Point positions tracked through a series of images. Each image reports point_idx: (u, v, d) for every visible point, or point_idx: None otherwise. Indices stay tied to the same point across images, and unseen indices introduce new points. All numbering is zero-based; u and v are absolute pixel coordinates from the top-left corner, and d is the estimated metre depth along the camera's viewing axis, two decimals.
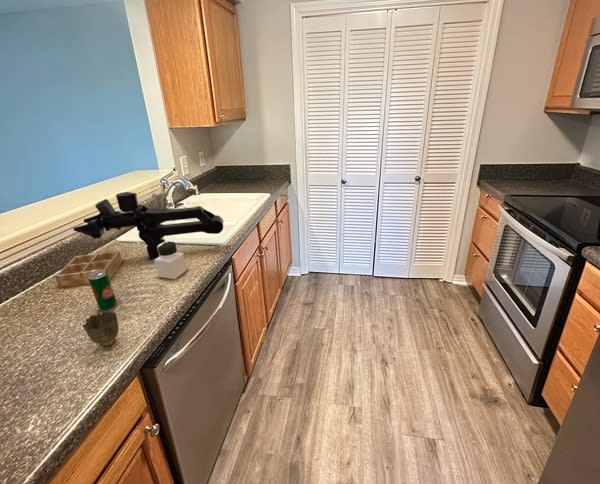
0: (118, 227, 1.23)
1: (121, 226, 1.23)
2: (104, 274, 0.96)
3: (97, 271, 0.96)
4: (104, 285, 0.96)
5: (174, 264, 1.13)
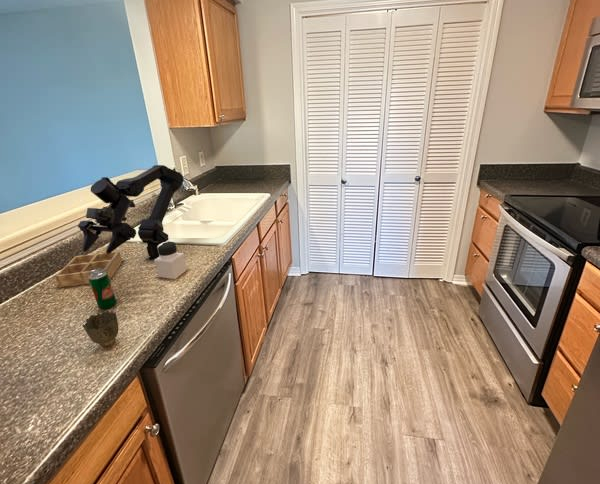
0: (124, 218, 1.11)
1: (124, 215, 1.11)
2: (104, 274, 0.96)
3: (97, 271, 0.96)
4: (104, 285, 0.96)
5: (174, 264, 1.13)
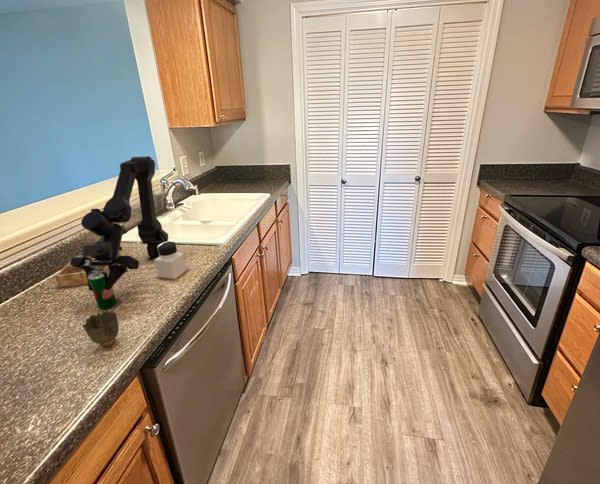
0: (120, 248, 1.03)
1: None
2: (104, 274, 0.96)
3: (97, 271, 0.96)
4: (104, 285, 0.96)
5: (174, 264, 1.13)
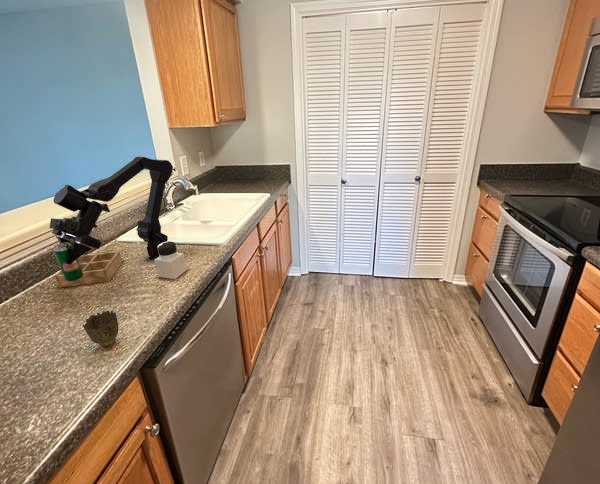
0: (94, 225, 1.06)
1: (95, 222, 1.06)
2: (65, 248, 1.00)
3: (63, 244, 1.01)
4: (64, 259, 1.00)
5: (174, 264, 1.13)
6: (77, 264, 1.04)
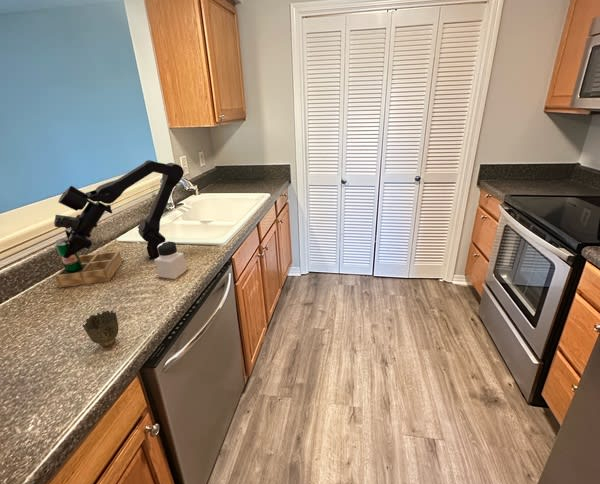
0: (94, 225, 1.13)
1: (95, 222, 1.13)
2: (64, 243, 1.09)
3: (64, 239, 1.11)
4: (62, 253, 1.10)
5: (174, 264, 1.13)
6: (75, 259, 1.12)
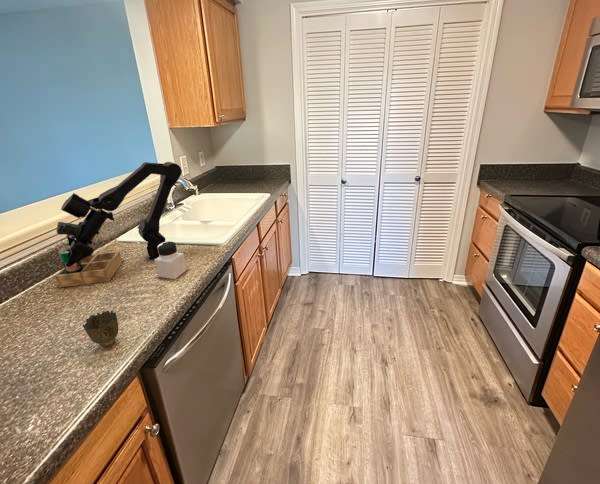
0: (96, 232, 1.14)
1: (97, 229, 1.14)
2: (67, 252, 1.10)
3: (68, 247, 1.12)
4: (65, 261, 1.11)
5: (174, 264, 1.13)
6: (78, 266, 1.14)
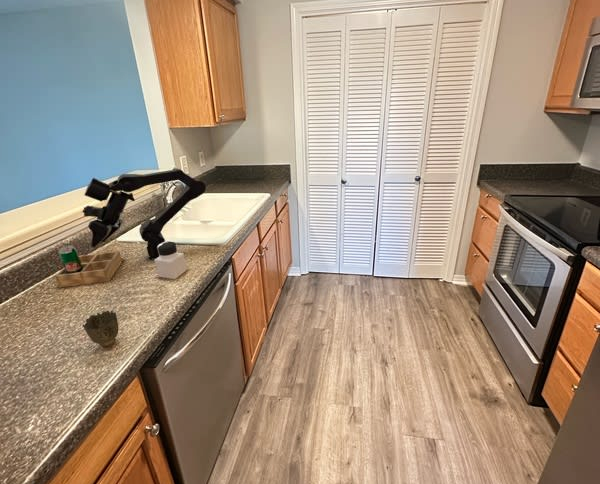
0: (116, 213, 1.17)
1: (117, 210, 1.17)
2: (67, 252, 1.10)
3: (68, 247, 1.12)
4: (65, 261, 1.11)
5: (174, 264, 1.13)
6: (78, 266, 1.14)
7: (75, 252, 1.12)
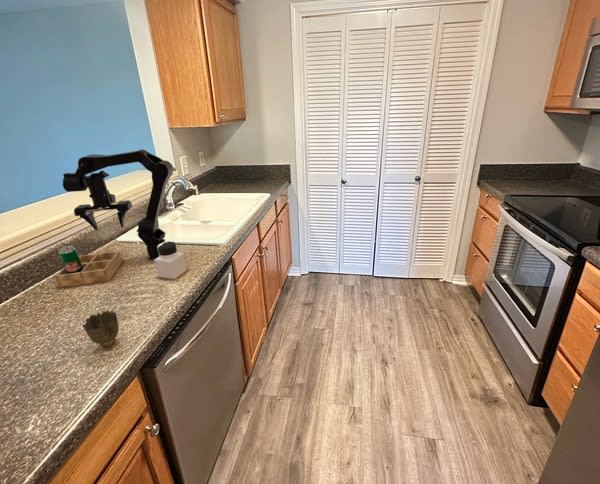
0: None
1: (90, 192, 1.18)
2: (67, 252, 1.10)
3: (68, 247, 1.12)
4: (65, 261, 1.11)
5: (174, 264, 1.13)
6: (78, 266, 1.14)
7: (75, 252, 1.12)
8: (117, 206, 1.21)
